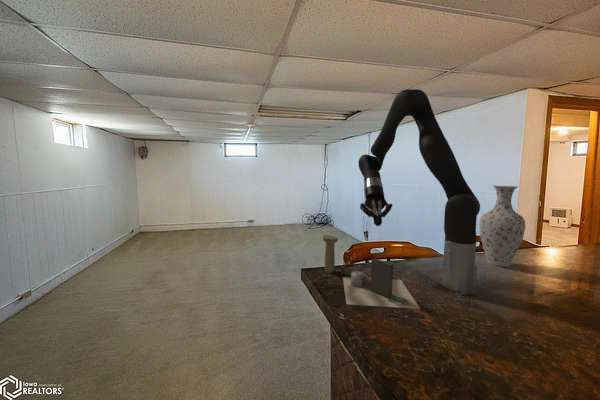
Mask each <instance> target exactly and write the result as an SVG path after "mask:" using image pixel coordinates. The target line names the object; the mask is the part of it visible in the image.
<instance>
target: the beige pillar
mask: <svg viewBox="0 0 600 400" xmlns="http://www.w3.org/2000/svg"><path fill="white" fill-rule="evenodd" d="M338 239H339V238H338V236H335V235H330V234H328V235H327V234H326V235H322V240H323V242H324V243H325V249H324V251H325V252H324V270H325V273H326V274H327V273H328V274H332V273H334V271H335V270H334V269H335V258H336V257H335V243H337V242H338Z"/></svg>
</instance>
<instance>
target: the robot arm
mask: <svg viewBox="0 0 600 400" xmlns="http://www.w3.org/2000/svg"><path fill="white" fill-rule="evenodd" d="M410 116H411V117H412V119H413V120H414V122H415V124H416V126H417V129H418V148H419V153H420V155H421V157H422V159H423V161H424V163H425V165H426V167H427V168H428V170H429V171H430V172H431V174H432V175H433V177H435V179H436V180H437V181H438V183H439V184H440V185H441V187H442V189H443V191H444V193H445V195H446V198H447V201H446V204H445V207H444V215H443V217H444V218H443V219H444V220H443V222H444V223H443V231H444V232H443V233H444V243H443V244H444V246H443V247H444V248H443V261H442V262H443V263H442V272H441V273H442V275H441V277H442V278H441V285H442V286H443V287H444V288H446V289H448V290H451V291H455V292H457V293H458V294H459V296H460V295H462V296H469V295H471V294H473V295H474V294H476V283H477V274H478V266H477V265H476V263H475V261H476V249H477V240H478V239H477V237H478V236H477V219H478V218H477V217H478V214H479V213H480V211H481V203H480V201H479V200H478V198H477V196H476V195H475V193H474V192H473V191H472V189H471V187H470V186H469V185H468V183H467V181H466V180H465V177H464V176H463V173H462V171H461V168H460V166H459V163H458V161H457V159H456V156H455V154H454V151H453V150H452V148H451V146H450V144H449V141H448V140H447V139H446V137H445V135H444V133H443V130H442V128H441V127H440V125H439V123H438V120H437V119H436V116H435V113H434V111H433V108H432V105H431V102H430V99H429V97H428V95H427V94H426V92H425V91H423V90H421V89H416V88H414V89H413V88H412V89H411V88H409V89H402V90H400V91H399V92H398V93H397V94H396V95H395V96H394V99H393V101H392V103H391V105H390V108H389V111H388V113H387V115H386V118H385V121H384V122H383V126H382V128H381V130H380V132H379V134H378V136H377V137H376V139H375V140H374V142H373V143H372V145H371V147H370V153H371V154H372V155H370V154H362V155H361V156H360V157H359V159H358V169H359V171H360V173H361V175H362V177H363V183H364V185H363V186H364V187H363V190H364V198H365V200H364V202H363V203H360V205H359V209H360V210H361V211H362V212H363V213H364V214H365V215H366V216H367V217H369V218H372V219H373V224H374V226H375V227H381V225H382V223H383V218H385V217H386V216H387V215H388V214H389V213H390V211H392V208H393V203H388V202H387V200H386V197H385V192H384V185H383V182H382V177H381V172H380V171H381V170H382V167H383V165H384V160H385V158H386V155H388V152H389V151H390V149H391V148H392V146H393V144H394V143H395V139H396V134H397V130H398V127H399V126H400V123H402V121H403V120H404V119H405V118H406V117H410ZM384 208H385V209H384ZM383 209H384V210H383Z"/></svg>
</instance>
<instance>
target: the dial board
mask: <svg viewBox="0 0 600 400" xmlns="http://www.w3.org/2000/svg"><path fill="white" fill-rule="evenodd" d="M368 278H369V277H368ZM369 279H371V277H370V278H369ZM342 281H343V288H344V295H345V302H346V305H347V306H348V305H351V306H363V307H364V306H367V307H368V306H369V307H384V308H399V309H401V308H402V309H415V310H416V309H417V310H421V307H420V306H419V305H418V303H417V301H416V300H415V298H414V297H413V296H412V294H411V293H410V291H409V290H408V288H407V287H406V285H405V283H404V282H403V281H402V280H401V279H393V284H392V295H395V296H397V297H399V298H402V299H403V301H402V302H400V301H398V300H396V299H394V298H387V297H385V296H382V295H380V294H378V293H376V292H373V291H371V289H370V288H368V287H366V286H354V285H352V284H351V276H350V277H349V276H342Z"/></svg>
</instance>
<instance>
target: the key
mask: <svg viewBox="0 0 600 400" xmlns="http://www.w3.org/2000/svg"><path fill="white" fill-rule="evenodd" d="M370 269H371V270H370V272H371V274H370V278H371V279H369V277H367V274H366V272H363V271H359V270H356V271H352V272H350V277H351V284H352V285H354V286H366V287H368V288H370V289H371V291H373V292H376V293H378V294H380V295H382V296H385V297H387V298H394V299H396V300H398V301H400V302H402V301H403V299H402V298H399V297H397V296H395V295H392V284H393V280H394V263H390V262H387V261H385V260H381V259H377V258H372V259H371V268H370Z"/></svg>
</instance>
